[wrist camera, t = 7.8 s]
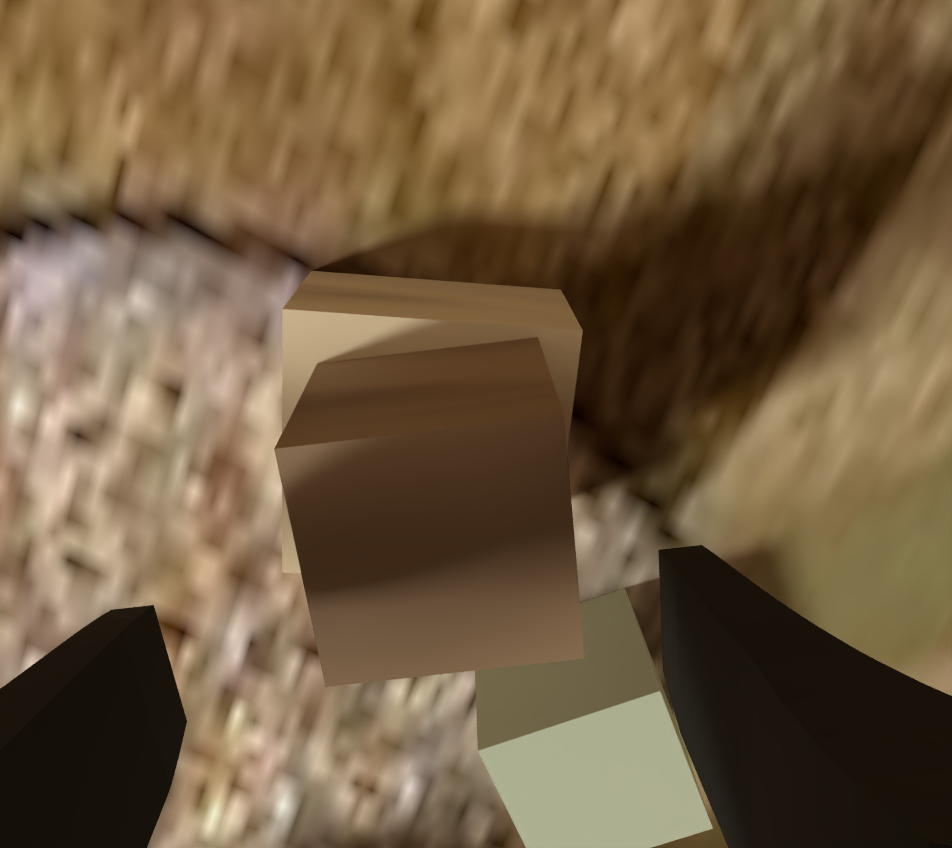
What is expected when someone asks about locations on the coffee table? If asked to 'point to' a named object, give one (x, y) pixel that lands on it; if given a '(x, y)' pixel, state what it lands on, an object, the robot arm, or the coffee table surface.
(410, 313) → the maple base
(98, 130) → the coffee table surface
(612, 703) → the sage cube
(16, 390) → the coffee table surface
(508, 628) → the walnut cube
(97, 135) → the coffee table surface
